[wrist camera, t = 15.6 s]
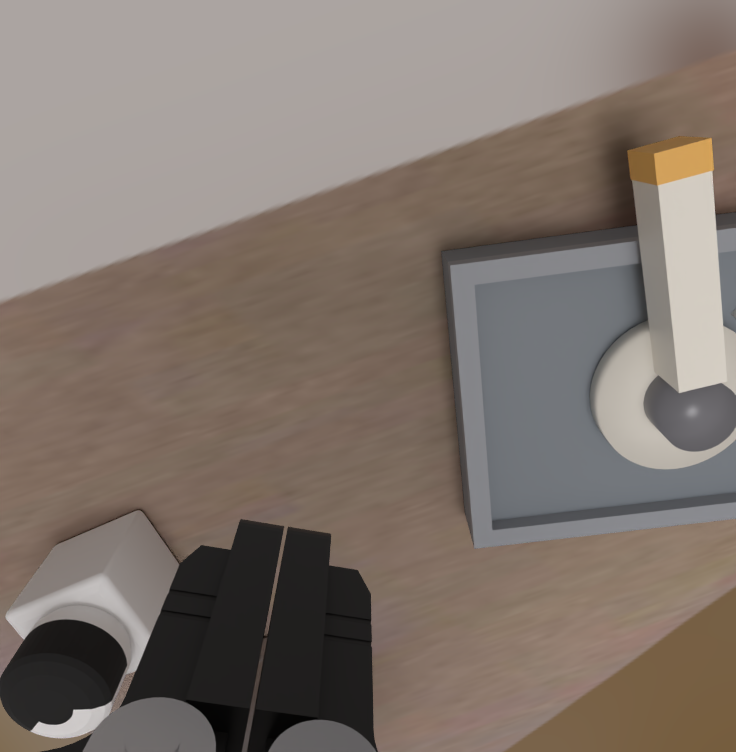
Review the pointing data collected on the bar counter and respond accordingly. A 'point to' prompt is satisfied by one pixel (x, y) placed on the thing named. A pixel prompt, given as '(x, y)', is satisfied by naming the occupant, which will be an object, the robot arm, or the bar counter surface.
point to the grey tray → (562, 390)
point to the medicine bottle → (85, 626)
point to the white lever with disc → (672, 321)
